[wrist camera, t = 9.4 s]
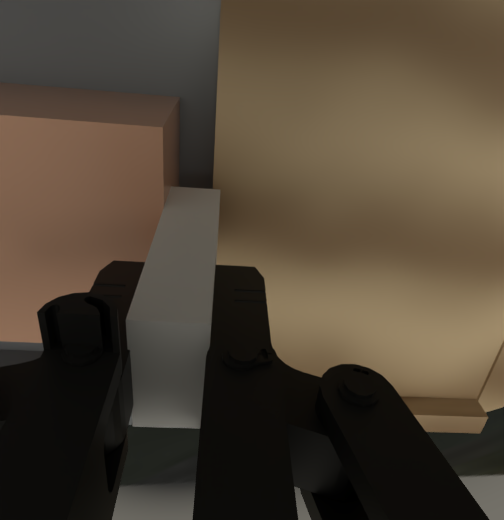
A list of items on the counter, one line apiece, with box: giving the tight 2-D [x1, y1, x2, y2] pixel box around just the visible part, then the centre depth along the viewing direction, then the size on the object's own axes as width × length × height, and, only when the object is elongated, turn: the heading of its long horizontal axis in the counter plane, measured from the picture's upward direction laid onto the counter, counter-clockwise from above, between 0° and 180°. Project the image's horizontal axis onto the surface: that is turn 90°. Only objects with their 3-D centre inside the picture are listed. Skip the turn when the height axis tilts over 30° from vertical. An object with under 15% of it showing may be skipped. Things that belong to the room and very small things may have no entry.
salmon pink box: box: [0, 82, 180, 343], centre depth 14 cm, size 7×8×4 cm
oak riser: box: [213, 0, 504, 433], centre depth 17 cm, size 18×19×4 cm
